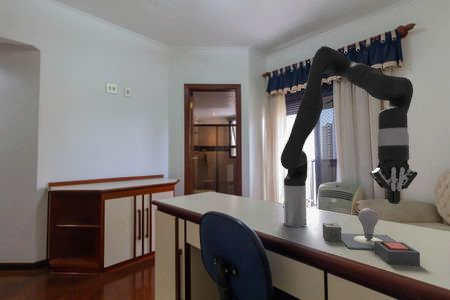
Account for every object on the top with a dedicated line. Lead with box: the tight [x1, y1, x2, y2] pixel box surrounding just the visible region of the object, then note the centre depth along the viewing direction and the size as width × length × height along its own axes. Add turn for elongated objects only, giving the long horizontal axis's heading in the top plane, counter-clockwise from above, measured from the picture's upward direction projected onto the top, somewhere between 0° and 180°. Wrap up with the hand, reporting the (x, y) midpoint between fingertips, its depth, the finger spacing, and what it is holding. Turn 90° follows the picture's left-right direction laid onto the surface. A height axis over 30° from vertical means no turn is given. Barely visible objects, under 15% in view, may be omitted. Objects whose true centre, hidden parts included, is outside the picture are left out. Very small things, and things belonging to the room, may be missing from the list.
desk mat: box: [340, 232, 398, 251], centre depth 83 cm, size 18×14×1 cm
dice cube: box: [322, 222, 342, 242], centre depth 87 cm, size 5×5×5 cm
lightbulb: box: [357, 207, 379, 240], centre depth 83 cm, size 6×6×11 cm
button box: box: [374, 241, 421, 266], centre depth 70 cm, size 8×8×4 cm
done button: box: [384, 242, 408, 251], centre depth 70 cm, size 4×4×2 cm
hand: (393, 203), depth 70 cm, fingers closed
